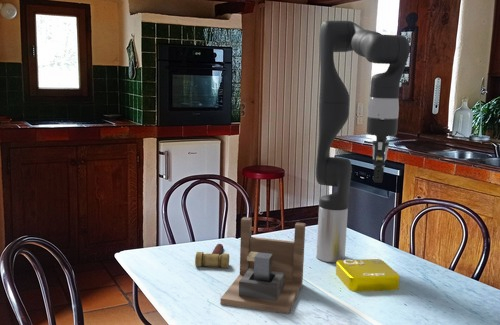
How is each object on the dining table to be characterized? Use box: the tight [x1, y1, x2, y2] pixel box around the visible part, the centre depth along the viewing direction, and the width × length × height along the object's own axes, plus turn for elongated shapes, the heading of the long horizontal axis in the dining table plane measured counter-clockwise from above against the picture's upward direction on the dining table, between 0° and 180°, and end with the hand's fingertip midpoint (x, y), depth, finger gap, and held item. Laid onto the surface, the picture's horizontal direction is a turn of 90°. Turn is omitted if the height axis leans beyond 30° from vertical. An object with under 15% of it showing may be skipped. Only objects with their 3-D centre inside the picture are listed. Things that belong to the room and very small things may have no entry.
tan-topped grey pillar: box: [247, 251, 273, 283], centre depth 142 cm, size 4×6×10 cm, turn 75°
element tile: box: [335, 258, 401, 292], centre depth 156 cm, size 15×15×5 cm
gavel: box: [194, 243, 230, 269], centre depth 172 cm, size 21×5×10 cm
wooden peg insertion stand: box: [219, 216, 306, 315], centre depth 143 cm, size 20×18×18 cm
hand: (378, 179), depth 136 cm, fingers open, 8 cm apart
